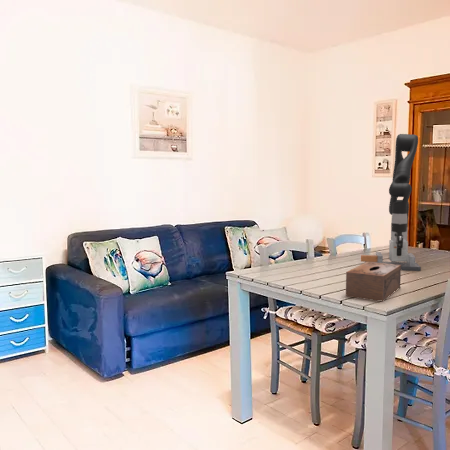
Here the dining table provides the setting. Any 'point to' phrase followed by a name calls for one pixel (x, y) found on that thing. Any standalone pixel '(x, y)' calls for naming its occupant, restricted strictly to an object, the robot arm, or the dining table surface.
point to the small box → (393, 251)
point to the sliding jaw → (372, 258)
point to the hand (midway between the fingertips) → (398, 254)
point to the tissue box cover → (373, 280)
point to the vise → (407, 264)
